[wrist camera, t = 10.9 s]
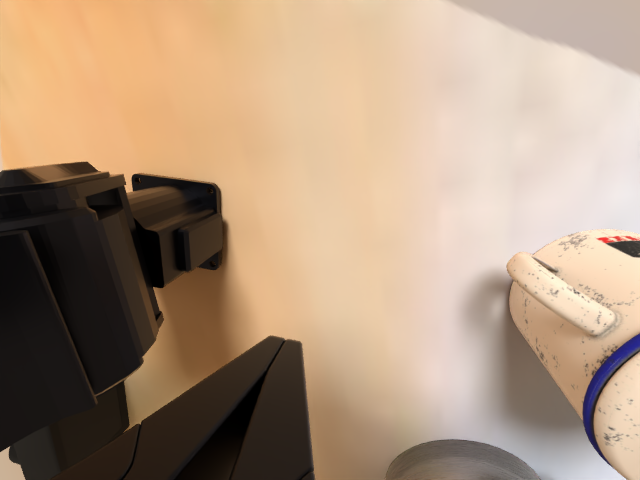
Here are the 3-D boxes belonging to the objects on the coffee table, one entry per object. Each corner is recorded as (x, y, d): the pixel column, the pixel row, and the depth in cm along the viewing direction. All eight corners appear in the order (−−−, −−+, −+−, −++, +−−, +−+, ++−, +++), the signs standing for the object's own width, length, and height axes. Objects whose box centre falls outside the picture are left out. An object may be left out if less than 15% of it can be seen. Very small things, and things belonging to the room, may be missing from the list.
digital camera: (70, 334, 29) (-19, 392, 22) (120, 348, 28) (42, 411, 22) (86, 411, 33) (13, 479, 26) (130, 424, 32) (66, 498, 25)
